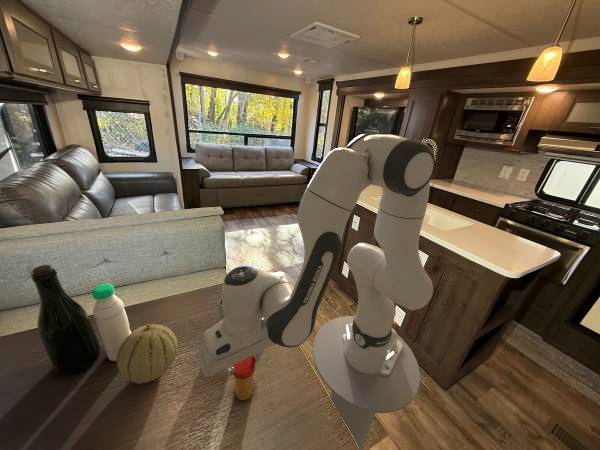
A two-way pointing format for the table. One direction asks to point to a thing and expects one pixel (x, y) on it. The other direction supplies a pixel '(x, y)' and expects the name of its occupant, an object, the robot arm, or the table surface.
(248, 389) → the orange cylinder
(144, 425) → the table surface
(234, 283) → the robot arm
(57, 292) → the dark green glass bottle
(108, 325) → the white milk bottle
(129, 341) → the cantaloupe
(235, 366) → the lid
